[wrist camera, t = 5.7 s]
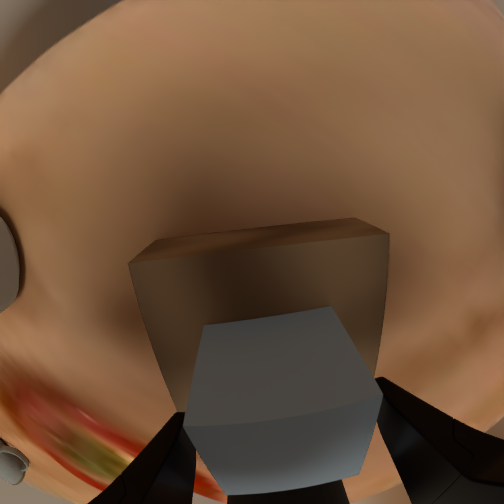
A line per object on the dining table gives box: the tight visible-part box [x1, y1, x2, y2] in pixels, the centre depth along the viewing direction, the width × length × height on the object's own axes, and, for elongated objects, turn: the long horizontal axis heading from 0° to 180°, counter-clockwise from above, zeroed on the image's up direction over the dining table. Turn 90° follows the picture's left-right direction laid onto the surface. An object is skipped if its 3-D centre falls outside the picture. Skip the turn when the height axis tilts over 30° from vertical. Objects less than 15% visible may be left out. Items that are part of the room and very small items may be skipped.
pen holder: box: [227, 479, 350, 504], centre depth 14 cm, size 9×9×10 cm
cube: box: [183, 306, 383, 495], centre depth 9 cm, size 5×5×5 cm
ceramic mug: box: [0, 439, 29, 485], centre depth 19 cm, size 11×8×8 cm
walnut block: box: [128, 218, 389, 412], centre depth 13 cm, size 10×10×4 cm
